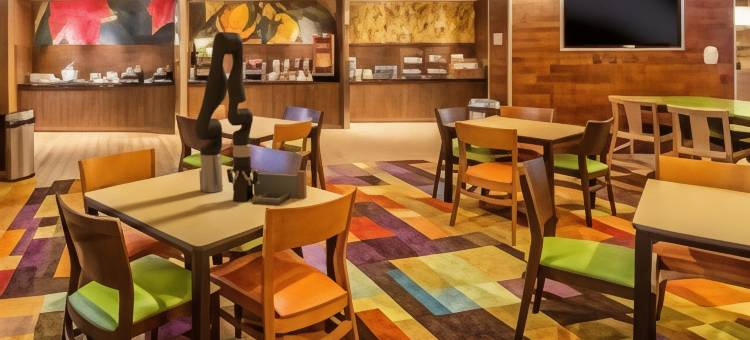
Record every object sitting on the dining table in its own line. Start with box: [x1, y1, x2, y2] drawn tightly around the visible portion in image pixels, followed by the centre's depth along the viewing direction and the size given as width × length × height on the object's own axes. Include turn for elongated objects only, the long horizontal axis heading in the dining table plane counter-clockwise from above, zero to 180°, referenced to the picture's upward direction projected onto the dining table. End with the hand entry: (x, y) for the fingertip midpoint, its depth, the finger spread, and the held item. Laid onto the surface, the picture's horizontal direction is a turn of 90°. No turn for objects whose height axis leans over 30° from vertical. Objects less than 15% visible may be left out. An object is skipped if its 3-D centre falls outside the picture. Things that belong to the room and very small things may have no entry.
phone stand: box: [232, 174, 255, 203], centre depth 270 cm, size 9×6×12 cm, turn 168°
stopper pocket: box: [252, 192, 292, 206], centre depth 269 cm, size 12×14×2 cm
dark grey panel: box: [253, 170, 308, 200], centre depth 276 cm, size 24×4×12 cm, turn 77°
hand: (243, 192), depth 271 cm, fingers closed on phone stand, 6 cm apart
